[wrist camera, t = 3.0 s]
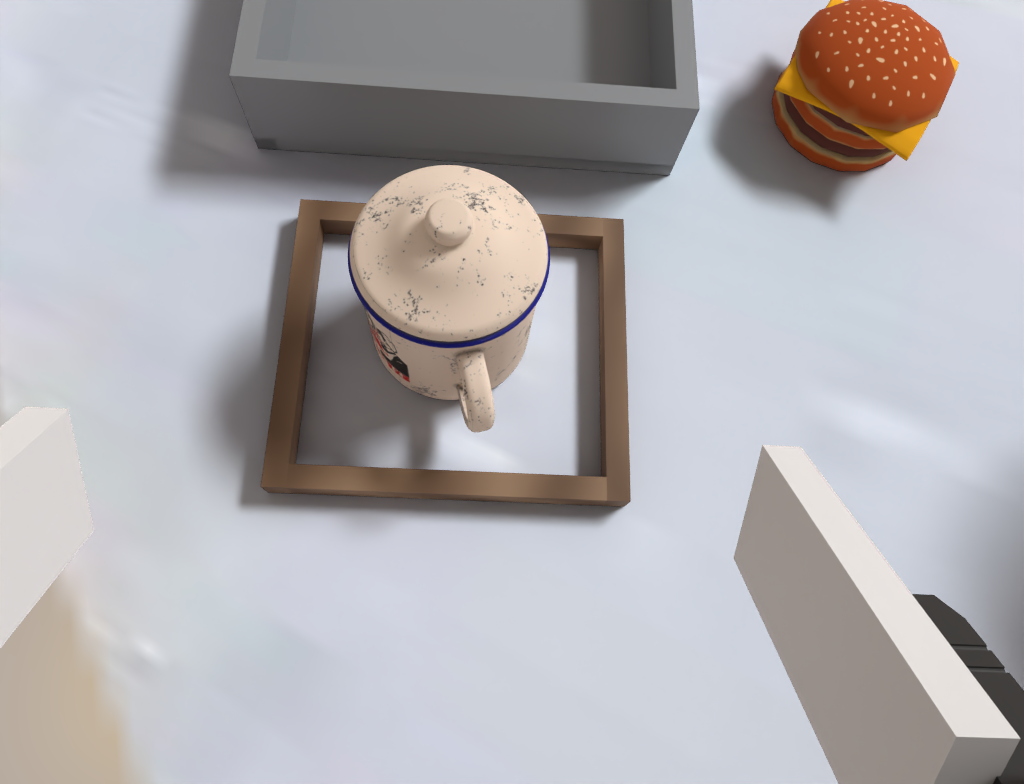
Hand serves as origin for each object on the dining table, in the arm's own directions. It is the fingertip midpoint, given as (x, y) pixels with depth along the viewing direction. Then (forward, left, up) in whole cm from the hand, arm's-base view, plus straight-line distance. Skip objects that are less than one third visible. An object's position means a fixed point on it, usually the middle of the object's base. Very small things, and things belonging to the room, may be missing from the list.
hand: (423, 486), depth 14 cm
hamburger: (-24, -30, -24) cm, 46 cm away
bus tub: (0, -37, -24) cm, 44 cm away
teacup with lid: (0, -12, -24) cm, 27 cm away
